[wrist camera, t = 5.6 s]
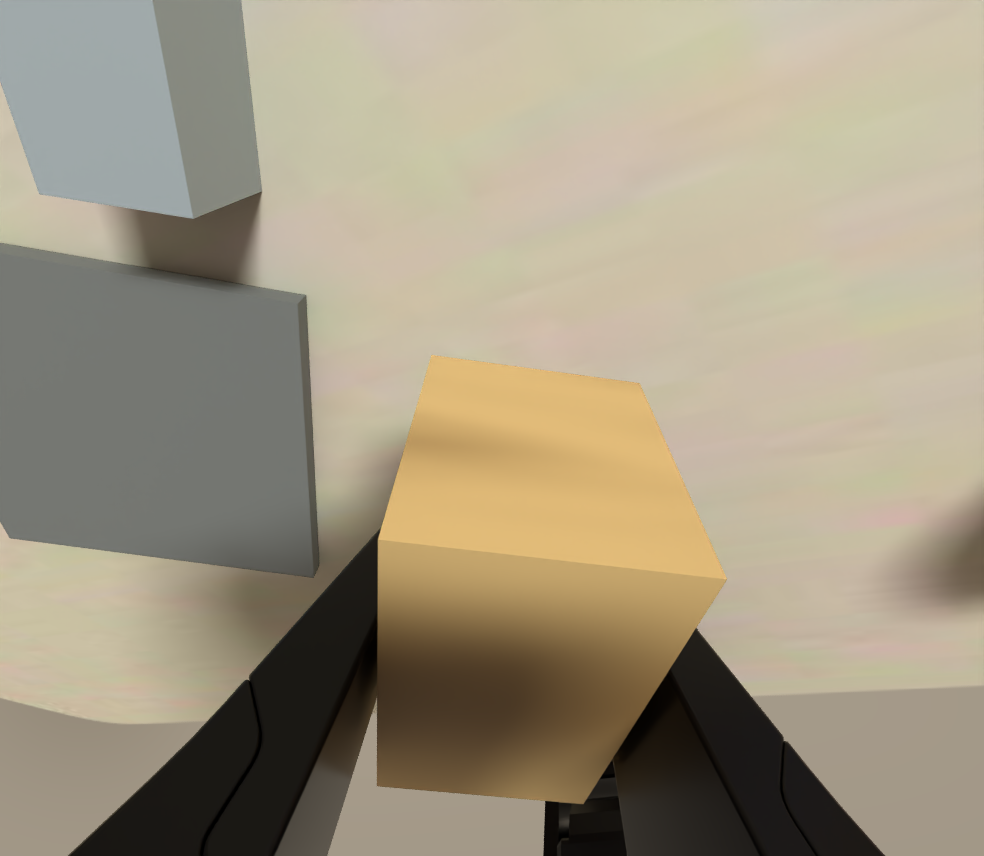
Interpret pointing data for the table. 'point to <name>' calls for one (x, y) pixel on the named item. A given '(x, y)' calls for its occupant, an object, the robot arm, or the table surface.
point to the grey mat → (155, 414)
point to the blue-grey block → (132, 101)
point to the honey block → (529, 581)
